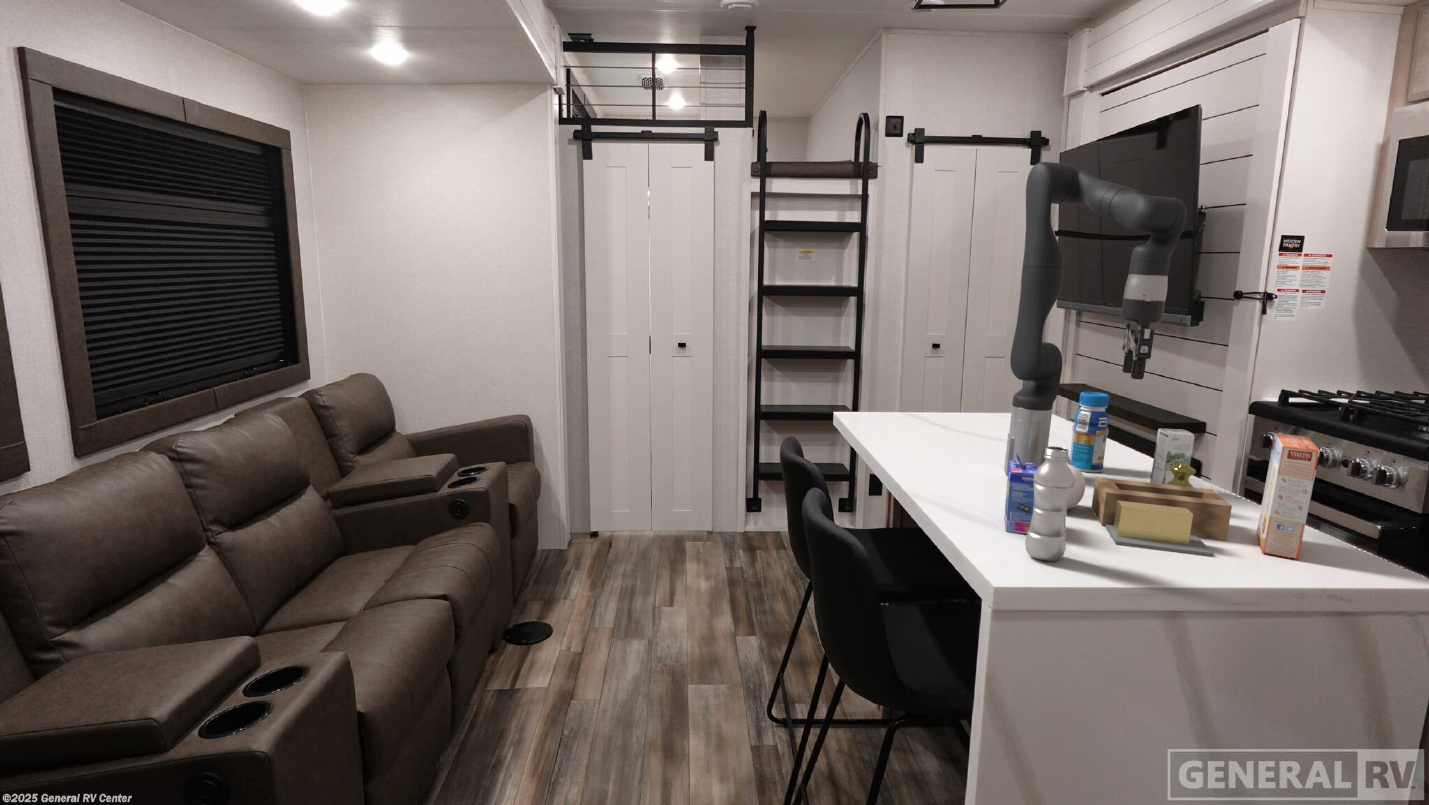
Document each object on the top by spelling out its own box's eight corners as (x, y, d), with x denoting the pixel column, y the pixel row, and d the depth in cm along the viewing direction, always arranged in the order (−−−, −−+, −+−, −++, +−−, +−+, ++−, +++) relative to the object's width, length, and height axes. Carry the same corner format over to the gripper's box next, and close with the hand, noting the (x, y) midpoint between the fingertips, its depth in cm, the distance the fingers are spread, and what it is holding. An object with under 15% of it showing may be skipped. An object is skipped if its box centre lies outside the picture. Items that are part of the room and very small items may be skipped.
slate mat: (1115, 544, 143) (1116, 541, 143) (1105, 527, 152) (1105, 524, 152) (1212, 556, 139) (1213, 553, 138) (1195, 538, 148) (1196, 535, 148)
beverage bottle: (1063, 463, 203) (1072, 390, 200) (1096, 466, 202) (1106, 392, 198) (1073, 472, 195) (1083, 395, 191) (1108, 474, 194) (1118, 397, 190)
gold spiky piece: (1199, 508, 167) (1206, 465, 166) (1192, 516, 162) (1199, 470, 160) (1162, 500, 172) (1168, 458, 171) (1153, 507, 167) (1159, 463, 165)
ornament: (1081, 505, 167) (1088, 452, 165) (1082, 518, 158) (1089, 462, 155) (1031, 498, 171) (1037, 446, 169) (1029, 510, 162) (1035, 456, 160)
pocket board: (1101, 525, 154) (1106, 492, 152) (1091, 508, 165) (1095, 477, 164) (1226, 540, 147) (1232, 506, 146) (1206, 521, 159) (1211, 489, 157)
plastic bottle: (1016, 551, 138) (1029, 444, 134) (1052, 551, 138) (1065, 444, 135) (1034, 565, 131) (1047, 453, 128) (1071, 565, 132) (1086, 453, 128)
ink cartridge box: (1002, 516, 157) (1009, 448, 155) (1031, 520, 155) (1039, 451, 153) (1003, 531, 148) (1011, 459, 145) (1034, 536, 146) (1042, 463, 144)
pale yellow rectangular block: (1117, 536, 146) (1121, 506, 145) (1113, 529, 150) (1117, 500, 148) (1188, 545, 142) (1193, 514, 141) (1182, 538, 146) (1186, 508, 145)
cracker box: (1301, 561, 138) (1321, 449, 134) (1260, 554, 141) (1279, 444, 137) (1292, 539, 149) (1311, 436, 146) (1255, 533, 152) (1273, 431, 149)
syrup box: (1173, 486, 184) (1182, 428, 182) (1186, 494, 179) (1195, 433, 176) (1149, 485, 185) (1157, 427, 182) (1160, 492, 179) (1169, 432, 177)
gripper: (1117, 295, 163) (1106, 369, 166) (1131, 298, 149) (1119, 379, 152) (1156, 297, 160) (1144, 372, 164) (1174, 300, 147) (1161, 382, 150)
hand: (1132, 375), depth 158 cm, fingers open, 8 cm apart
